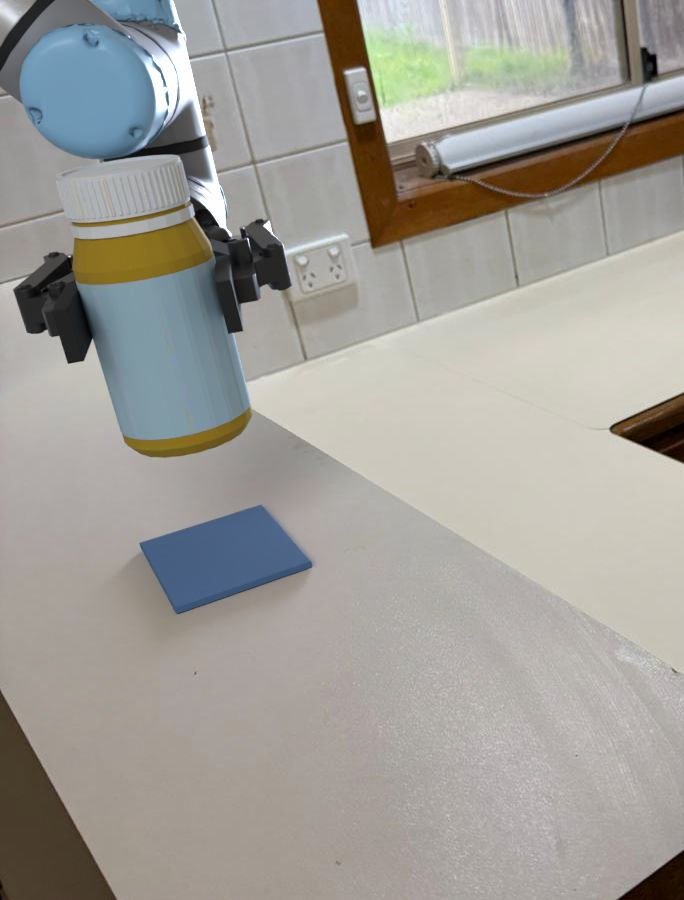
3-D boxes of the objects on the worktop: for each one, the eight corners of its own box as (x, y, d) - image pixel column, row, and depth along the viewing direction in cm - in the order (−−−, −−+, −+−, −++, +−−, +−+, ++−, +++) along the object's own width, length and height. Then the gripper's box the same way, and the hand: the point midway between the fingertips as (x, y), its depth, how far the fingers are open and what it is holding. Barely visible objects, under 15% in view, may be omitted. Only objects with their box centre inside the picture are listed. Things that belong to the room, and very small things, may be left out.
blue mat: (312, 567, 65) (310, 561, 64) (176, 614, 61) (174, 608, 61) (263, 509, 73) (261, 503, 72) (140, 548, 69) (139, 542, 69)
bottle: (181, 410, 68) (111, 156, 62) (279, 413, 66) (216, 149, 60) (99, 458, 62) (13, 183, 56) (204, 463, 60) (125, 176, 54)
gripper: (-8, 207, 73) (-96, 284, 53) (304, 159, 78) (335, 212, 57) (28, 319, 76) (-42, 433, 56) (327, 266, 81) (364, 353, 60)
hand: (149, 321), depth 57 cm, fingers closed on bottle, 7 cm apart
